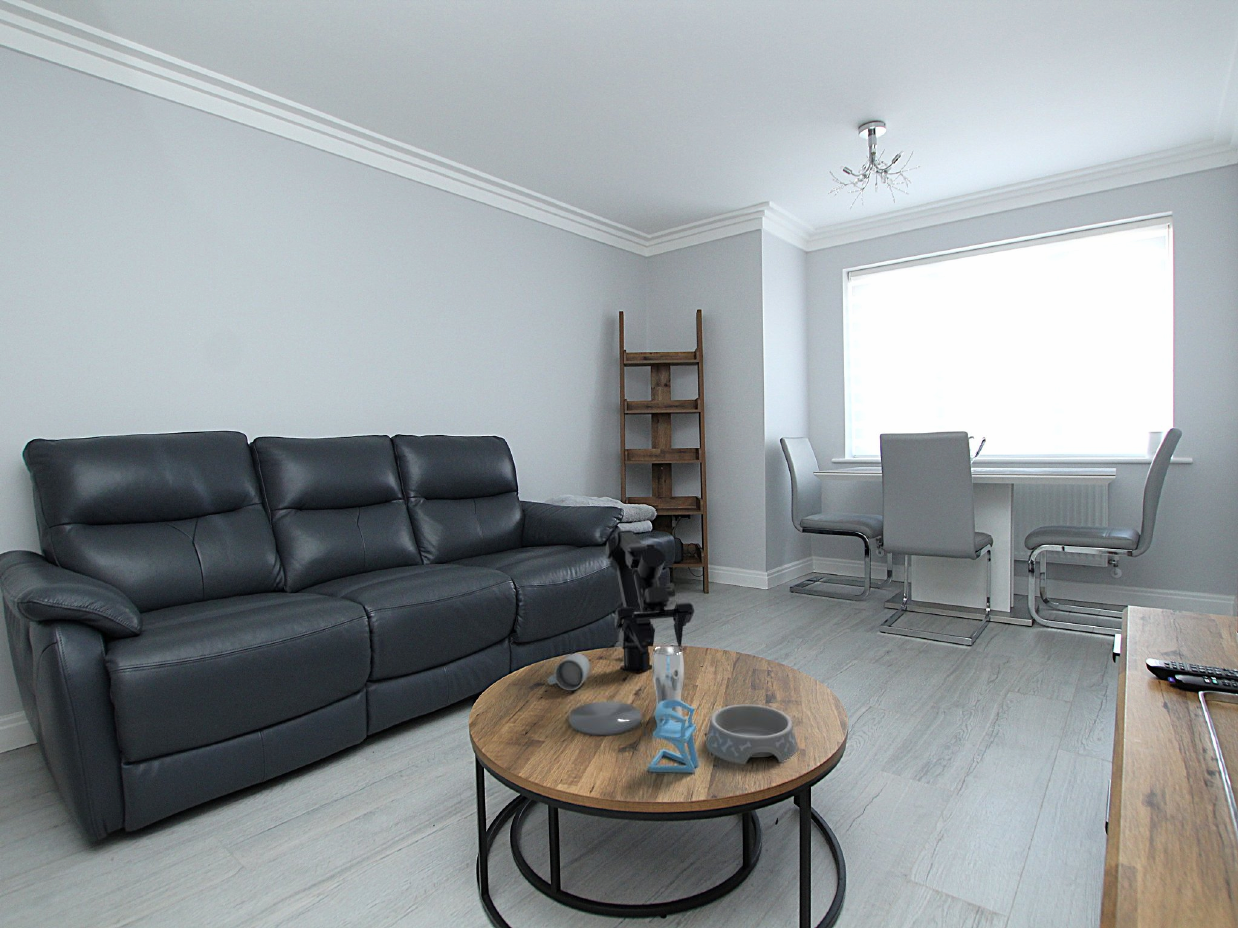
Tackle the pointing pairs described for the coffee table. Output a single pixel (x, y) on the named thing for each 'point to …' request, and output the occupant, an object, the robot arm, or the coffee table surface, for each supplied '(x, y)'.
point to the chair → (675, 737)
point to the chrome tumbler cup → (668, 675)
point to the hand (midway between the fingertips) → (661, 647)
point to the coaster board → (605, 718)
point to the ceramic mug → (571, 672)
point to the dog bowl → (750, 733)
